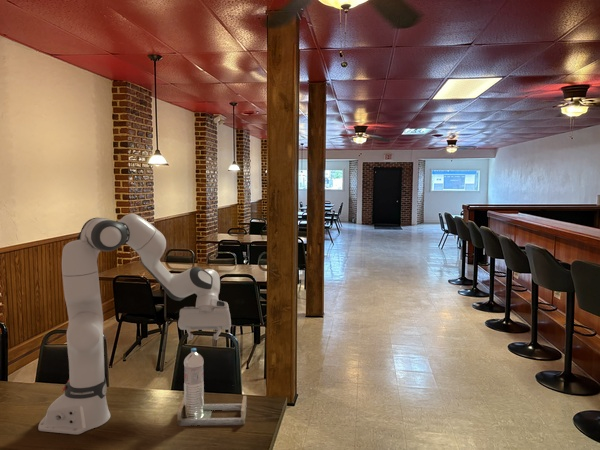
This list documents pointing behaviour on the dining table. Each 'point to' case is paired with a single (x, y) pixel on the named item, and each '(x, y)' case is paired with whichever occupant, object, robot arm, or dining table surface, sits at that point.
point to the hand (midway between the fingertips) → (202, 339)
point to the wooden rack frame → (207, 413)
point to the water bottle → (193, 385)
